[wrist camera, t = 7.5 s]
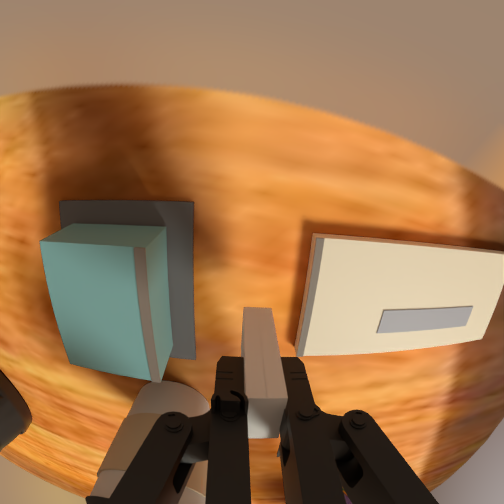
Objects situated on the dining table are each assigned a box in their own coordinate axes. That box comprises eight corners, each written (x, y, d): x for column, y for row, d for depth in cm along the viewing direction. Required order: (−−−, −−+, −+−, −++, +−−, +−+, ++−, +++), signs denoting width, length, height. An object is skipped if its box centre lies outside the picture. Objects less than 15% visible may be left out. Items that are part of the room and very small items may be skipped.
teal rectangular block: (91, 333, 20) (69, 364, 16) (73, 223, 17) (38, 241, 13) (173, 345, 20) (160, 383, 16) (166, 226, 17) (144, 248, 13)
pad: (85, 340, 21) (83, 343, 21) (61, 200, 17) (59, 201, 17) (196, 357, 21) (195, 359, 21) (193, 201, 17) (193, 202, 17)
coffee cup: (109, 387, 23) (55, 516, 9) (178, 357, 21) (133, 535, 7) (170, 438, 25) (148, 556, 11) (240, 417, 24) (239, 562, 10)
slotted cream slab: (294, 347, 21) (296, 356, 20) (312, 233, 18) (316, 237, 17) (476, 333, 22) (482, 339, 21) (505, 251, 19) (512, 255, 18)
